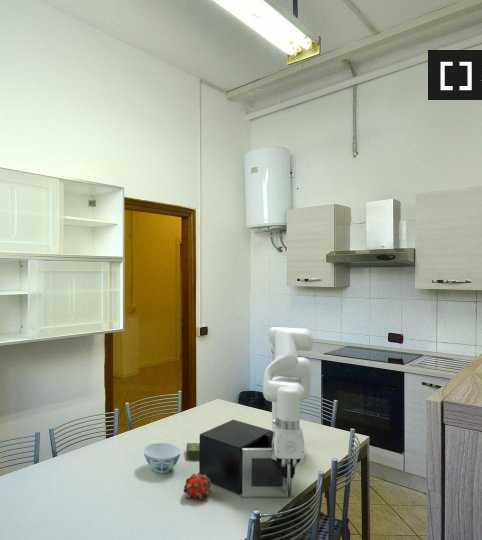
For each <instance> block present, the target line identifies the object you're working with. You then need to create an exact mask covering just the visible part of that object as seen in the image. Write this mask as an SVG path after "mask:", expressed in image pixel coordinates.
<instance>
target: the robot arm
mask: <svg viewBox="0 0 482 540" xmlns="http://www.w3.org/2000/svg"><path fill="white" fill-rule="evenodd" d="M267 336H268V341H269V342H270V343H271V345H272V347H273V361H271V362H270V363H269V364H268V365H267V366H266V368H265V370H264V372H263V376H262V378H263V379H262V395H263V398H264V399H265V400H266V401H268V402H271V407H272V408H271V431H273V432H274V434H273V442H272V452H271V455H270V457H271V459H274V460H276V461H278V462H279V463H280V464H281V475H283V477H284V478H287V467H286V464H285V459H290V464H291V478H292V479H294V478H295V477H294V476H295V475H296V467H297V465H298V464H299V463H300V462H301V461H304V460H306V459H307V457H306V455H305V453H306V450H305V449H306V448H305V438H304V431H303V428H302V427H300V425H301V424H300V423H301V422H300V420H301V419H300V418H301V416H300V415H301V414H300V413H301V403H302V401H303V400H307V399H309V397H310V395H311V381H312V377H311V376H312V366H311V362H310V360H309V359H308V358H306V357H303V356H299V355H298V352H299V351H300V352H309V351H311V350H312V349H313V345H314V339H313V335H312V332H311V331H310V329H308V328H301V327H283V326H282V327H281V326H272V327H270V328H269V329H268V332H267Z"/></svg>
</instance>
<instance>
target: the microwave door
mask: <svg viewBox="0 0 482 540" xmlns="http://www.w3.org/2000/svg"><path fill="white" fill-rule="evenodd" d="M271 452H272V448H242V493H241V496H242V498H244V497H245V498H246V497H247V498H248V497H249V498H251V497H252V498H253V497H255V498H257V497H259V498H260V497H261V498H262V497H263V498H265V497H266V498H267V497H268V498H269V497H270V498H271V497H275V498H276V497H281V498H282V497H283V498H285V497H286V498H291V497H292V480H293V478H291V464H290V459H285V464H286V467H287V478H284V477H283V475H281V464H280V463H279V462H278V461H276V460H274V459H271V457H270V455H271Z"/></svg>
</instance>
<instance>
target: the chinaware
mask: <svg viewBox="0 0 482 540" xmlns="http://www.w3.org/2000/svg"><path fill="white" fill-rule="evenodd" d="M181 452H182V451H181V449H180V448H179V447H178V446H177V445H175V444H171V443H166V442H155V443H150V444H148V445H146V446H144V448H143V456H144V459H145V462H147V464H148V465H149V466H150V467H151V468H152V469H153V471H154V472H156V473H158V474H166V473H169V472H170V471H171V469H172V468H174V467H175V466H176V465H177V463H178V461H179V459H180V456H181Z"/></svg>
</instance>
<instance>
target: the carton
mask: <svg viewBox="0 0 482 540" xmlns="http://www.w3.org/2000/svg"><path fill="white" fill-rule="evenodd" d="M199 447H200V442H186V449H185V450H186V451H185V452H186V456H187V459H188V460H190V461H191V460H193V461H194V460H195V461H196V460H197V461H199Z"/></svg>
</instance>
